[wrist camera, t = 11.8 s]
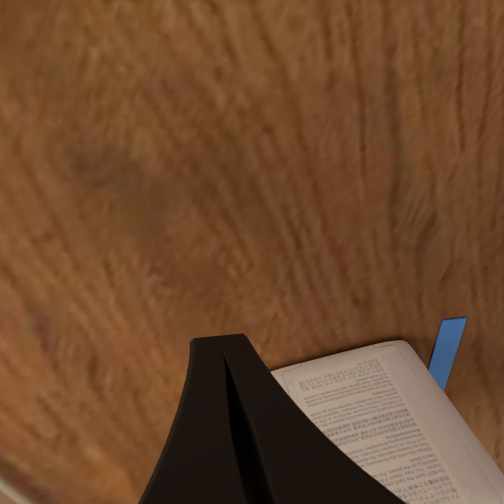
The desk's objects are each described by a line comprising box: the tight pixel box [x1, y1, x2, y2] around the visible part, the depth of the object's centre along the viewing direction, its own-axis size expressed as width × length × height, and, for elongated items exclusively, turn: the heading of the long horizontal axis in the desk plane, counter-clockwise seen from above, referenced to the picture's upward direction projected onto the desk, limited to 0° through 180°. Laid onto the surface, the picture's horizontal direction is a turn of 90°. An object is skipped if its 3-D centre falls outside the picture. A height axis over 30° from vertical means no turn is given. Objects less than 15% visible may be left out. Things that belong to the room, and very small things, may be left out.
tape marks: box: [428, 317, 467, 391], centre depth 27 cm, size 16×8×1 cm, turn 88°
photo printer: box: [271, 340, 504, 504], centre depth 22 cm, size 10×4×12 cm, turn 100°
